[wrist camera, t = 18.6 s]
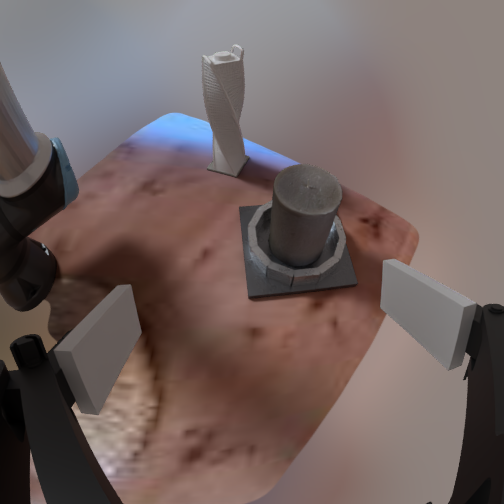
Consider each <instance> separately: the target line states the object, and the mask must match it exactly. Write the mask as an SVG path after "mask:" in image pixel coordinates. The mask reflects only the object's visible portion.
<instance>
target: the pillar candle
mask: <svg viewBox="0 0 504 504" xmlns="http://www.w3.org/2000/svg"><path fill="white" fill-rule="evenodd" d="M341 200H342V189H341V186H340V184H339V182H338V181H337V178H336V177H335V176H334V175H331V174H330V173H329V172H327V171H325V170H324V169H322V168H320V167H317V166H313V165H308V164H298V165H293V166H290V167H287V168H285V169H284V170H282V171H281V172H280V173H279V174H278V175H277V177H276V178H275V181H274V187H273V197H272V210H271V223H270V234H269V238H268V241H269V244H270V246H269V247H270V249H271V251H272V253H273V254H274V256H275V257H276V258H277V259H279V260H280V261H281V262H283V263H285V264H288V265H292V266H305V265H308V264H311V263H313V262H314V261H316V260H317V259H318V258H319V257H320V255H321V253H322V251H323V248H324V246H325V243H326V241H327V238H328V235H329V233H330V230H331V227H332V224H333V222H334V219H335V216H336V213H337V210H338V207H339V205H340V202H341Z"/></svg>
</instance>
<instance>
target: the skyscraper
mask: <svg viewBox="0 0 504 504" xmlns="http://www.w3.org/2000/svg"><path fill="white" fill-rule="evenodd" d="M235 47H238V48H240V50H241V58H240V59H239V58H238V57H237V56H236V55H234V54H233V50H234V48H235ZM243 55H244V50H243V48H242V47H240V46H239V45H234V46H233V47H232V49H231V52H226V51H223V52H217V53H215V54H214V56H208V57H206V56H205V55H203V57H202V83H203V96H204V102H205V108H206V112H207V116H208V120H209V123H210V126H211V129H212V131H213V161H212V162H211V164H210V165H209V166H208V168H207V170H210V171H213V172H217V173H221V174H225V175H229V176H232V177H237V176H238V174H239V173H240V171H241V170H242V168H243V167H244V165H245V164H246V162H247V161H248V159H249V156H246V155H245V149H244V142H243V137H242V133H241V129H240V125H239V119H240V115H241V111H242V107H243V101H244V91H245V79H244V66H243Z"/></svg>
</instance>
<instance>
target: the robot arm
mask: <svg viewBox="0 0 504 504" xmlns="http://www.w3.org/2000/svg"><path fill="white" fill-rule="evenodd" d="M78 194H79V187H78V184H77V181H76V178H75V175H74V172H73V170H72V168H71V166H70V163H69V159H68V157H67V155H66V152H65V150H64V147H63V145H62V143H61V141H60V139H59V138H53V139H50V140H49V138H48V137H47V136H46V135H45V134H43V133H38V132H34V131H33V129H32V127H31V125H30V124H29V122H28V120H27V118H26V116H25V114H24V112H23V110H22V109H21V106H20V104H19V102H18V100H17V98H16V96H15V94H14V92H13V90H12V88H11V86H10V83H9V81H8V79H7V77H6V75H5V73H4V70H3V68H2V66H1V63H0V294H1V295H2V297H3V298H4V300H5V301H6V303H7V304H8V305H10V306H11V307H13V308H14V309H15V310H18V311H22V312H23V311H29V310H31V309H33V308H35V307H36V306H38V305H39V304H40V303H41V302H42V301H43V300H44V298H45V297H46V296H47V294H48V293H49V291H50V289H51V287H52V284H53V282H54V278H55V274H56V261H55V257H54V255H53V254H52V252H51V251H50V250H49V249H48V248H47V247H46V246H45V245H44V244H42V243H40V242H38V241H36V240H34V239H31V238H29V237H27V236H28V235H29V234H31V233H32V232H33V231H35V230H36V229H37V228H39V227H40V226H41V225H42V224H44V223H45V222H47V221H48V220H49V219H51V218H52V217H53V216H55V215H56V214H58V213H59V212H60V211H62V210H64V209H65V208H66V207H67V205H69V204H70V203H71V202H72V201H74V200H75V199H76V198H77V196H78ZM380 308H381V309H382V310H383V311H384V312H385V313H387V314H388V315H389V316H390V317H391V318H392V319H393V320H394V321H395V322H397V323H398V324H399V325H400V326H401V327H402V328H403V329H404V330H406V331H407V332H408V333H409V334H410V335H411V336H412V337H413V338H414V339H415V340H416V341H417V342H418V343H420V344H421V345H422V346H423V347H424V348H425V349H426V350H427V351H428V352H429V353H430V354H431V355H432V356H433V357H435V358H436V359H437V360H438V361H439V362H440V363H441V364H442V365H443V366H444V367H445V368H446V369H447V370H451V369H454V368H456V367H459V366H461V365H462V362H463V359H464V355H465V352H466V353H467V354H469V355H470V356H471V357H470V360H469V364H468V367H467V370H466V373H465V376H464V379H463V380H466V377H468V393H467V408H466V419H465V429H464V437H463V444H462V450H461V456H460V462H459V467H458V472H457V477H456V481H455V486H454V490H453V494H452V497H451V499H450V501H449V503H448V504H504V306H501V305H499V304H488V305H485V306H484V307H481V306H480V305H478V304H477V303H476V302H474V301H472V300H470V299H469V298H467V297H465V296H463V295H462V294H460V293H458V292H456V291H455V290H453V289H451V288H449V287H447V286H445V285H444V284H442V283H440V282H438V281H436V280H434V279H432V278H430V277H429V276H427V275H425V274H423V273H421V272H419V271H417V270H415V269H413V268H412V267H410V266H408V265H406V264H404V263H402V262H400V261H398V260H396V259H391V260H383V273H382V290H381V303H380ZM141 333H142V331H141V327H140V323H139V319H138V315H137V310H136V306H135V301H134V296H133V292H132V287H131V284H129V285H118V286H117V287H115V288H114V289H113V290H112V291H111V292H110V293H109V294H108V295H107V296H106V297H105V298H104V299H103V300H102V301H101V302H100V303H99V304H98V305H97V306H96V307H95V308H94V309H93V310H92V311H91V312H90V313H89V314H88V315H87V316H86V317H85V318H84V319H83V320H82V321H81V322H80V323H79V324H78V325H77V326H76V327H75V328H74V329H72V330H70V331H69V332H67V333H66V334H65V335H64V336H63V337H62V339H60V340H59V341H58V342H57V344H56V345H55V346H54V347H53V348H52V349H51V350H50V351H49V352H48V353H46V350H45V348H44V345H43V342H42V339H41V337H40V336H39V335H36V334H30V335H25V336H22V337H20V338H18V339H16V340H15V341H13V343H12V344H11V345H10V350H11V352H12V354H13V357H14V359H15V362H16V364H17V366H18V368H19V370H13V371H8V370H7V368H6V365H5V363H4V362H3V360H0V504H31V503H30V449H31V453H32V457H33V461H34V465H35V469H36V472H37V475H38V479H39V482H40V485H41V488H42V491H43V494H44V497H45V500H46V502H47V504H123V503H122V501H121V500H120V498H119V497H118V495H117V493H116V492H115V490H114V489H113V487H112V485H111V484H110V482H109V480H108V479H107V477H106V475H105V474H104V472H103V470H102V468H101V467H100V465H99V463H98V461H97V459H96V458H95V456H94V454H93V452H92V450H91V448H90V446H89V444H88V442H87V440H86V438H85V436H84V434H83V431H82V429H81V427H80V425H79V423H78V420H77V418H76V416H75V414H74V412H73V410H72V408H71V407H72V406H73V404H74V402H75V401H76V403H77V405H78V407H79V409H80V411H81V413H85V414H93V415H99V413H100V411H101V409H102V407H103V405H104V403H105V401H106V399H107V397H108V395H109V393H110V391H111V389H112V387H113V385H114V383H115V381H116V380H117V378H118V376H119V374H120V372H121V370H122V368H123V366H124V364H125V362H126V361H127V359H128V357H129V355H130V353H131V351H132V350H133V348H134V346H135V344H136V342H137V340H138V339H139V337H140V335H141ZM427 504H432V503H431V502H429V503H427Z"/></svg>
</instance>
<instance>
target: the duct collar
mask: <svg viewBox="0 0 504 504" xmlns="http://www.w3.org/2000/svg"><path fill="white" fill-rule="evenodd" d="M271 210H272V200H271V201H270V202H268V203H266V204H264V205H257V206H245V207H239V211H240V221H241V231H242V241H243V251H244V260H245V270H246V280H247V289H248V299H251V298H261V297H271V296H280V295H289V294H298V293H307V292H315V291H323V290H331V289H339V288H346V287H354V286H356V285H357V284H358V283H357V279H356V275H355V272H354V269H353V265H352V262H351V258H350V255H349V252H348V249H347V245H346V236H345V233H344V230H343V227H342V224H341V221H340V220H339V218H338V217H337V215H336V216H335V219H334V222H333V224H332V227H331V230H330V233H329V235H328V238H327V241H326V243H325V246H324V248H323V251H322V253H321V255H320V257H319V258H318V259H317V260H316V261H314V262H313V263H311V264H308V265H305V266H292V265H288V264H285V263H283V262H281V261H280V260H279V259H277V258H276V257H275V256H274V254H273V253H272V251H271V249H270V247H269V246H270V244H269V241H268V238H269V234H270V223H271Z"/></svg>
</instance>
